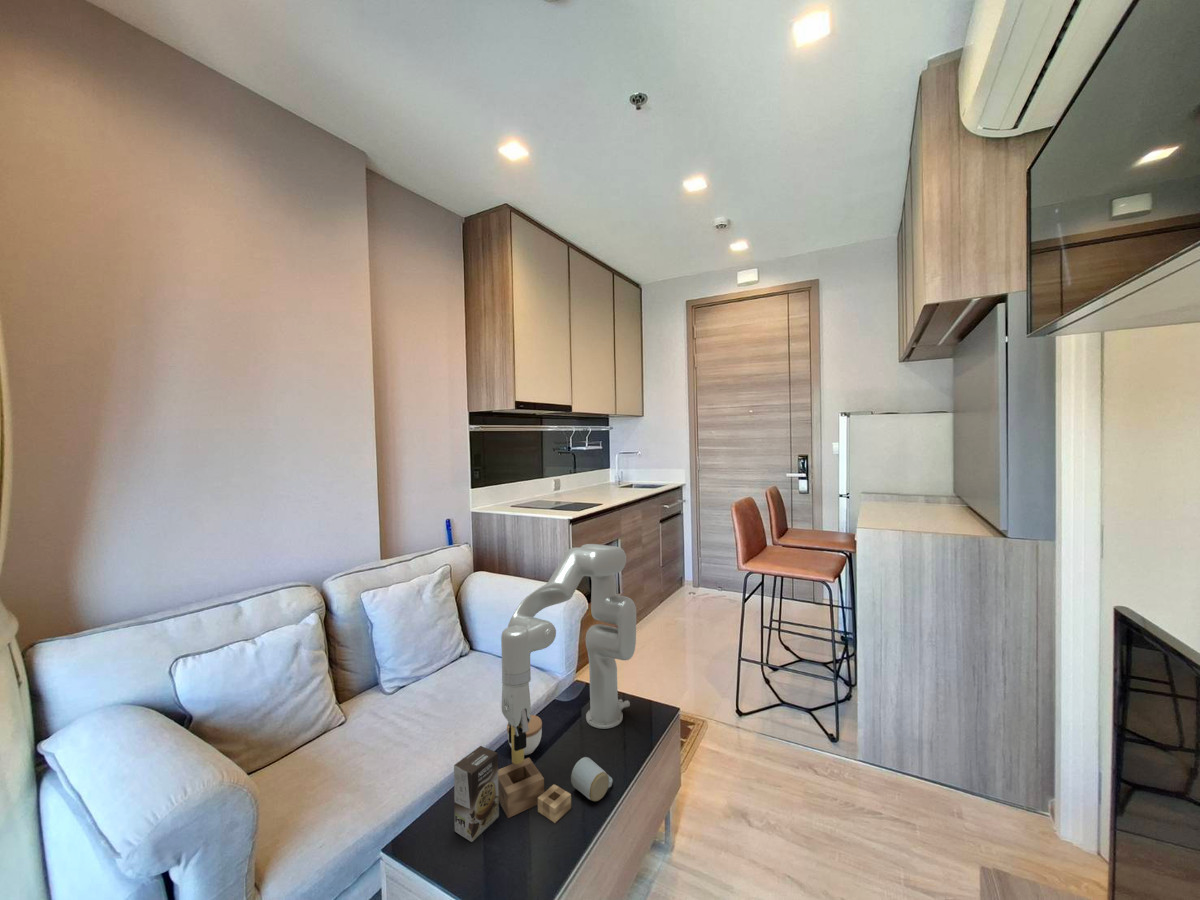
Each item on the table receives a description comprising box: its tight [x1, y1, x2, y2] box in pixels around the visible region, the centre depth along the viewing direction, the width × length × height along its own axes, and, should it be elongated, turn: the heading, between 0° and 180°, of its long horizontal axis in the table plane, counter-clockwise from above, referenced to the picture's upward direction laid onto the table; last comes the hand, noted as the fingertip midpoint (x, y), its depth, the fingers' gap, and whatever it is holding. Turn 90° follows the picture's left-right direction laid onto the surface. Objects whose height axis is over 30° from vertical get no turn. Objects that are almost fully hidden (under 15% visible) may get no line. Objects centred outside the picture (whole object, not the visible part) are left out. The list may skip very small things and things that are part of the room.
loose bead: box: [537, 784, 572, 824], centre depth 116 cm, size 6×6×4 cm
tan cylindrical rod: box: [511, 720, 525, 764], centre depth 121 cm, size 3×3×14 cm
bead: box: [498, 757, 545, 819], centre depth 121 cm, size 10×10×6 cm
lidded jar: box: [506, 714, 543, 756], centre depth 141 cm, size 11×11×9 cm
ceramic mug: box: [570, 756, 613, 802], centre depth 123 cm, size 11×8×8 cm
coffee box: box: [453, 745, 500, 843], centre depth 112 cm, size 9×6×16 cm
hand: (517, 744), depth 121 cm, fingers closed on tan cylindrical rod, 3 cm apart
